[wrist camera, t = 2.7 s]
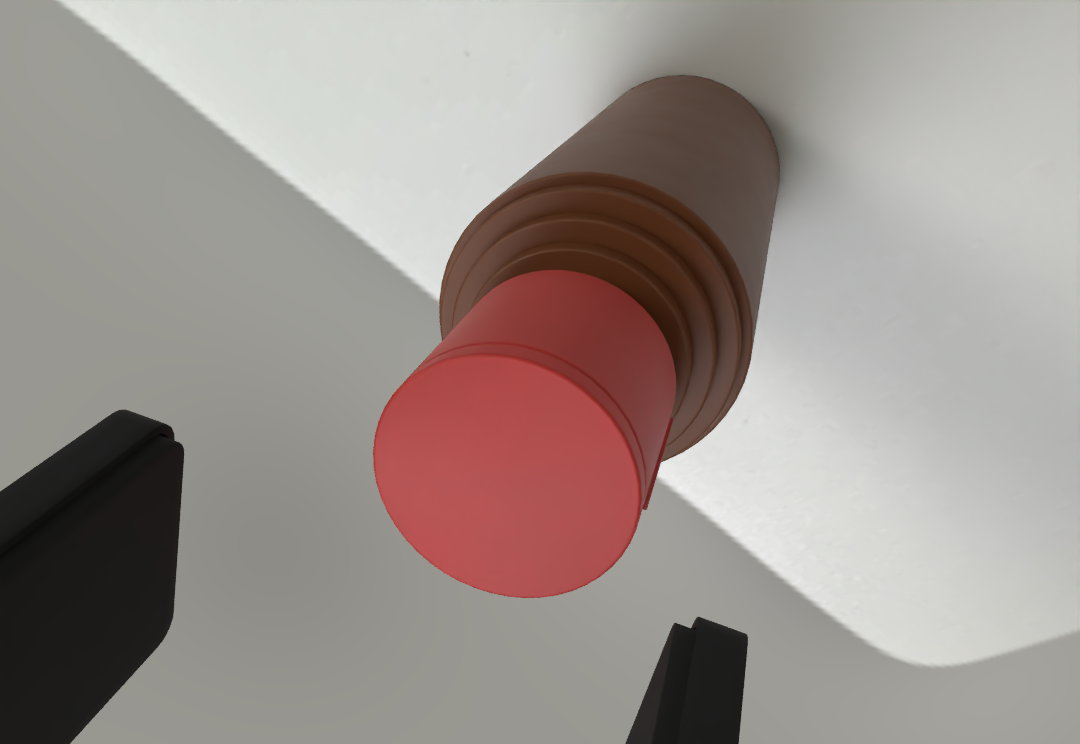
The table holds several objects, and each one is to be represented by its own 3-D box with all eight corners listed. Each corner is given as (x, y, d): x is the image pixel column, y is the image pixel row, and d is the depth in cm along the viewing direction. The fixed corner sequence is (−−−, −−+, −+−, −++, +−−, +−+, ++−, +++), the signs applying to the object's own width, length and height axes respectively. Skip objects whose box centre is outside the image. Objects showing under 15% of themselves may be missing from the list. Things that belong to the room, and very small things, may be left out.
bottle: (808, 107, 30) (796, 348, 12) (741, 293, 32) (655, 695, 15) (612, 50, 30) (345, 201, 13) (563, 236, 33) (293, 557, 16)
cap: (710, 312, 16) (682, 412, 13) (642, 505, 18) (602, 636, 15) (481, 238, 16) (395, 315, 13) (438, 433, 18) (354, 544, 15)
